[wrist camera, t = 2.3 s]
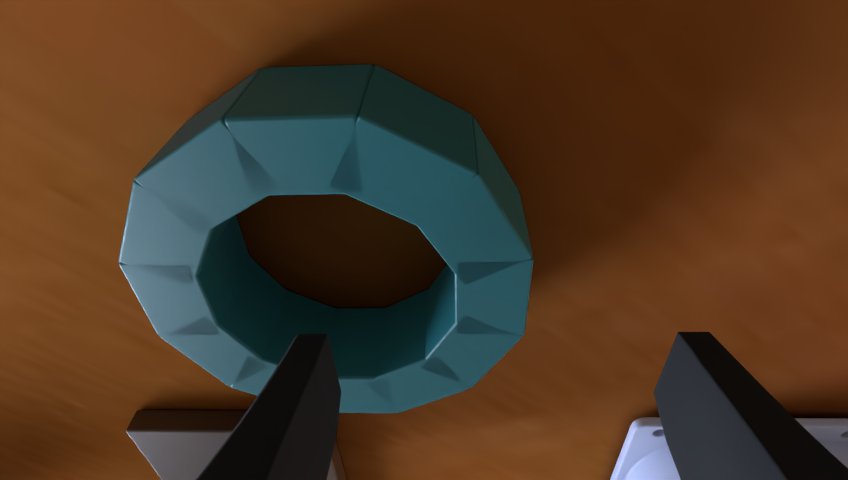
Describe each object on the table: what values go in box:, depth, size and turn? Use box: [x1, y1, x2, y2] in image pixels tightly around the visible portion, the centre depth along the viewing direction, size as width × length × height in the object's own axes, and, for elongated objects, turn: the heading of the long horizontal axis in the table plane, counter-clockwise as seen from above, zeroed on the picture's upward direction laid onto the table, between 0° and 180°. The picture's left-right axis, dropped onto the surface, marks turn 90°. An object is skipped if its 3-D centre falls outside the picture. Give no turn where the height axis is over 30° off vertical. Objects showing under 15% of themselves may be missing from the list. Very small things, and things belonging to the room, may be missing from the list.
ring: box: [119, 64, 534, 413], centre depth 14 cm, size 10×10×3 cm
